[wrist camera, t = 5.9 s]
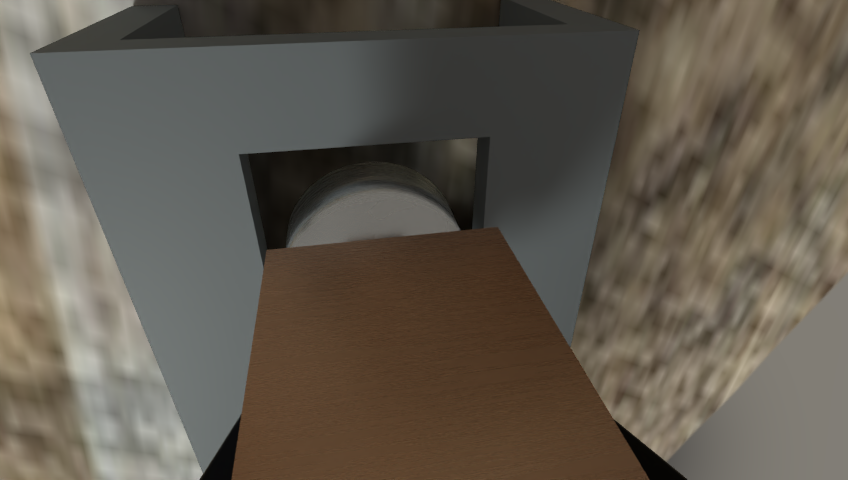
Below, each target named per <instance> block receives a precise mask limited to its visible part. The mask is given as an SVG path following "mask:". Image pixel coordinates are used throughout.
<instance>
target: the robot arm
mask: <svg viewBox="0 0 848 480" xmlns="http://www.w3.org/2000/svg"><path fill="white" fill-rule="evenodd" d="M241 414H242V413H241ZM613 420H614V419H613ZM240 421H241V415H240V417H239V418H238V420H237V421H236V423H235V425H234V426H233V428H232V429H231V431H230V432H229V434H228V436H227V437H226V439H225V440H224V442H223V443H222V445H221V447H220V448H219V450H218V451H217V453H216V454H215V456H214V458H213V459H212V461H211V462H210V464H209V466H208V467H207V469H206V470H205V472H204V473H203V475H202V477H201V478H200V480H232V473H233V467H234V460H235V453H236V447H237V440H238V434H239V427H240ZM614 421H615V420H614ZM615 423H616V425H617V426H618V428H619V430H620V431H621V433H622V435H623V436H624V438H625V440H626V441H627V443H628V445H629V446H630V448H631V450H632V451H633V453H634V455H635V456H636V458H637V460H638V461H639V463H640V465H641V466H642V468H643V470H644V471H645V473H646V475H647V476H648V478H649V480H687V479H686V478H685V477H684V476H683V475H681V474H680V473H679V472H678V471H677V470H675V469H674V468H673V467H672V466H670V465H669V464H668V463H667V462H666V461H664V460H663V459H662V458H661V457H659V456H658V455H657V454H656V453H655V452H653V451H652V450H651V449H650V448H648V447H647V446H646V445H645V444H644V443H642V442H641V441H640V440H639V439H637V438H636V437H635V436H634V435H633V434H631V433H630V432H629V431H628V430H626V429H625V428H624V427H623V426H622V425H620V424H619V423H618V422H617V421H615Z"/></svg>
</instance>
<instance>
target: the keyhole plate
mask: <svg viewBox="0 0 848 480" xmlns="http://www.w3.org/2000/svg"><path fill="white" fill-rule="evenodd" d="M638 35H639V30H637V29H634V28H631V27H628V26H625V25H622V24H620V23H617V22H614V21H611V20H608V19H605V18H602V17H599V16H596V15H593V14H590V13H587V12H584V11H581V10H578V9H575V8H572V7H569V6H566V5H563V4H560V3H557V2H554V1H551V0H501V6H500V20H499V27H473V28H444V29H416V30H387V31H359V32H330V33H302V34H273V35H245V36H216V37H188V38H185V35H184V31H183V27H182V23H181V19H180V15H179V11H178V7H177V5H159V6H131V7H129V8H127V9H125V10H123V11H120V12H118V13H116V14H114V15H112V16H110V17H107V18H105V19H103V20H101V21H99V22H97V23H94V24H92V25H90V26H88V27H86V28H84V29H81V30H79V31H77V32H75V33H73V34H71V35H69V36H66V37H64V38H62V39H60V40H58V41H56V42H53V43H51V44H49V45H47V46H45V47H43V48H40V49H38V50H36V51H34V52H32V53H30V55H31V57H32V60H33V62H34V65H35V67H36V69H37V72H38V74H39V77H40V79H41V81H42V84H43V86H44V89H45V91H46V94H47V96H48V98H49V101H50V103H51V106H52V108H53V111H54V113H55V115H56V118H57V120H58V123H59V125H60V128H61V130H62V132H63V135H64V137H65V140H66V142H67V145H68V147H69V149H70V152H71V154H72V157H73V159H74V161H75V164H76V166H77V169H78V171H79V174H80V176H81V178H82V181H83V183H84V186H85V188H86V191H87V193H88V195H89V198H90V200H91V203H92V205H93V208H94V210H95V212H96V215H97V217H98V220H99V222H100V225H101V227H102V229H103V232H104V234H105V237H106V239H107V241H108V244H109V246H110V249H111V251H112V254H113V256H114V258H115V261H116V263H117V266H118V268H119V271H120V273H121V275H122V278H123V280H124V283H125V285H126V288H127V290H128V292H129V295H130V297H131V300H132V302H133V305H134V307H135V309H136V312H137V314H138V317H139V319H140V321H141V324H142V326H143V329H144V331H145V334H146V336H147V338H148V341H149V343H150V346H151V348H152V351H153V353H154V355H155V358H156V360H157V363H158V365H159V368H160V370H161V372H162V375H163V377H164V380H165V382H166V385H167V387H168V389H169V392H170V394H171V397H172V399H173V401H174V404H175V406H176V409H177V411H178V414H179V416H180V418H181V421H182V423H183V426H184V428H185V431H186V433H187V435H188V438H189V440H190V443H191V445H192V448H193V450H194V452H195V455H196V457H197V460H198V462H199V465H200V467H201V469H202V472H203V473H204V472H205V470H206V469H207V467H208V466H209V464H210V462H211V461H212V459H213V458H214V456H215V454H216V453H217V451H218V450H219V448H220V447H221V445H222V443H223V442H224V440H225V439H226V437H227V436H228V434H229V432H230V431H231V429H232V428H233V426H234V425H235V423H236V421H237V420H238V418H239V417H240V415H241V413H242V408H243V401H244V394H245V388H246V381H247V375H248V368H249V362H250V355H251V348H252V342H253V335H254V329H255V322H256V316H257V309H258V302H259V296H260V289H261V283H262V276H263V270H264V263H265V257H266V250H267V245H266V240H265V235H264V230H263V225H262V221H261V216H260V211H259V206H258V201H257V196H256V192H255V187H254V182H253V177H252V172H251V167H250V163H249V158H248V154H250V153H264V152H279V151H293V150H307V149H322V148H336V147H350V146H365V145H379V144H393V143H408V142H422V141H437V140H451V139H465V138H478V141H477V158H476V175H475V191H474V208H473V225H472V229H481V228H491V227H498V228H499V230H500V231H501V233H502V235H503V236H504V238H505V240H506V241H507V243H508V245H509V246H510V248H511V250H512V251H513V253H514V255H515V256H516V258H517V260H518V261H519V263H520V265H521V266H522V268H523V270H524V271H525V273H526V275H527V276H528V278H529V280H530V281H531V283H532V285H533V286H534V288H535V290H536V291H537V293H538V295H539V296H540V298H541V300H542V301H543V303H544V305H545V306H546V308H547V310H548V311H549V313H550V315H551V316H552V318H553V320H554V321H555V323H556V325H557V326H558V328H559V330H560V331H561V333H562V335H563V336H564V338H565V340H566V341H567V343H568V345H569V346H571V342H572V337H573V333H574V328H575V324H576V319H577V314H578V310H579V305H580V301H581V296H582V292H583V287H584V282H585V278H586V273H587V269H588V264H589V259H590V255H591V250H592V246H593V241H594V237H595V232H596V227H597V223H598V218H599V214H600V209H601V204H602V200H603V195H604V191H605V186H606V182H607V177H608V172H609V168H610V163H611V159H612V154H613V149H614V145H615V140H616V136H617V131H618V127H619V122H620V117H621V113H622V108H623V104H624V99H625V95H626V90H627V85H628V81H629V76H630V72H631V67H632V62H633V58H634V53H635V49H636V44H637V40H638Z"/></svg>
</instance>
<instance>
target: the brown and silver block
mask: <svg viewBox="0 0 848 480" xmlns="http://www.w3.org/2000/svg"><path fill="white" fill-rule="evenodd" d="M232 480H649V478H648V476H647V475H646V473H645V471H644V470H643V468H642V466H641V465H640V463H639V461H638V460H637V458H636V456H635V455H634V453H633V451H632V450H631V448H630V446H629V445H628V443H627V441H626V440H625V438H624V436H623V435H622V433H621V431H620V430H619V428H618V426H617V425H616V423H615V421H614V420H613V418H612V416H611V415H610V413H609V411H608V410H607V408H606V406H605V405H604V403H603V401H602V400H601V398H600V396H599V395H598V393H597V391H596V390H595V388H594V386H593V385H592V383H591V381H590V380H589V378H588V376H587V375H586V373H585V371H584V370H583V368H582V366H581V365H580V363H579V361H578V360H577V358H576V356H575V355H574V353H573V351H572V350H571V348H570V346H569V345H568V343H567V341H566V340H565V338H564V336H563V335H562V333H561V331H560V330H559V328H558V326H557V325H556V323H555V321H554V320H553V318H552V316H551V315H550V313H549V311H548V310H547V308H546V306H545V305H544V303H543V301H542V300H541V298H540V296H539V295H538V293H537V291H536V290H535V288H534V286H533V285H532V283H531V281H530V280H529V278H528V276H527V275H526V273H525V271H524V270H523V268H522V266H521V265H520V263H519V261H518V260H517V258H516V256H515V255H514V253H513V251H512V250H511V248H510V246H509V245H508V243H507V241H506V240H505V238H504V236H503V235H502V233H501V231H500V230H499V228H498V227H491V228H481V229H471V230H460V228H459V226H458V224H457V222H456V220H455V218H454V215H453V213H452V211H451V209H450V207H449V205H448V203H447V201H446V199H445V197H444V196H443V194H442V193H441V192H440V190H439V189H438V188H437V187H436V186H435V185H434V184H433V183H432V182H431V181H430V180H429V179H427V178H426V177H424V176H423V175H422V174H420V173H418V172H416V171H414V170H412V169H410V168H407V167H404V166H402V165H397V164H393V163H386V162H363V163H356V164H352V165H348V166H345V167H342V168H339V169H337V170H334V171H332V172H330V173H329V174H327V175H325V176H323V177H322V178H320V179H319V180H318V181H316V182H315V183H314V184H313V185H311V186H310V187H309V188H308V189H307V190H306V191H305V193H304V194H303V195H302V196H301V198H300V199H299V200H298V202H297V204H296V206H295V207H294V209H293V212H292V214H291V217H290V220H289V225H288V231H287V242H286V248H282V249H272V250H266V257H265V263H264V270H263V276H262V283H261V289H260V296H259V302H258V309H257V316H256V322H255V329H254V335H253V342H252V348H251V355H250V362H249V368H248V375H247V381H246V388H245V394H244V401H243V408H242V414H241V421H240V427H239V434H238V440H237V447H236V453H235V460H234V467H233V473H232Z"/></svg>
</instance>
